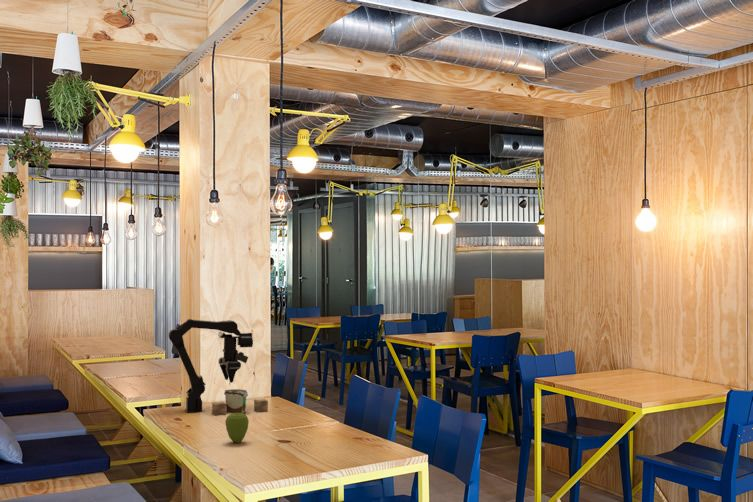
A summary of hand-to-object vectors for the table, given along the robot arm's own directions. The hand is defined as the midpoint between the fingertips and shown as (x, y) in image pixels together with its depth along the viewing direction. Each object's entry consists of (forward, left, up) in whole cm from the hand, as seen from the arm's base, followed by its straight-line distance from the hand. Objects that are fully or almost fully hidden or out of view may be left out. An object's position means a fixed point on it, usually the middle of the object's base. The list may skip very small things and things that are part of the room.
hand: (228, 381), depth 334 cm
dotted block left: (-7, -10, -13) cm, 18 cm away
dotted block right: (+12, -11, -13) cm, 21 cm away
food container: (+2, -10, -13) cm, 17 cm away
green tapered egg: (-13, -66, -13) cm, 69 cm away
